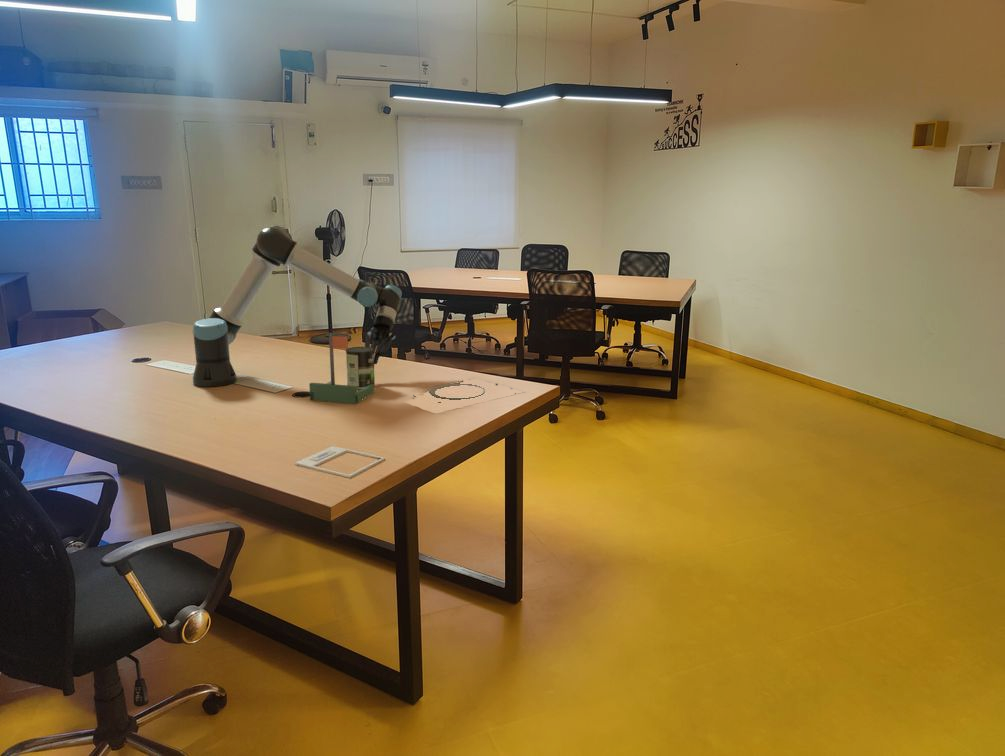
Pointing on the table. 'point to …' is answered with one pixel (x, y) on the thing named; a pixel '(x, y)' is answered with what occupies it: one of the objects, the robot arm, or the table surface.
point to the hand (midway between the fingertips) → (369, 370)
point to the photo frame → (329, 454)
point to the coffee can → (360, 366)
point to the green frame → (330, 389)
